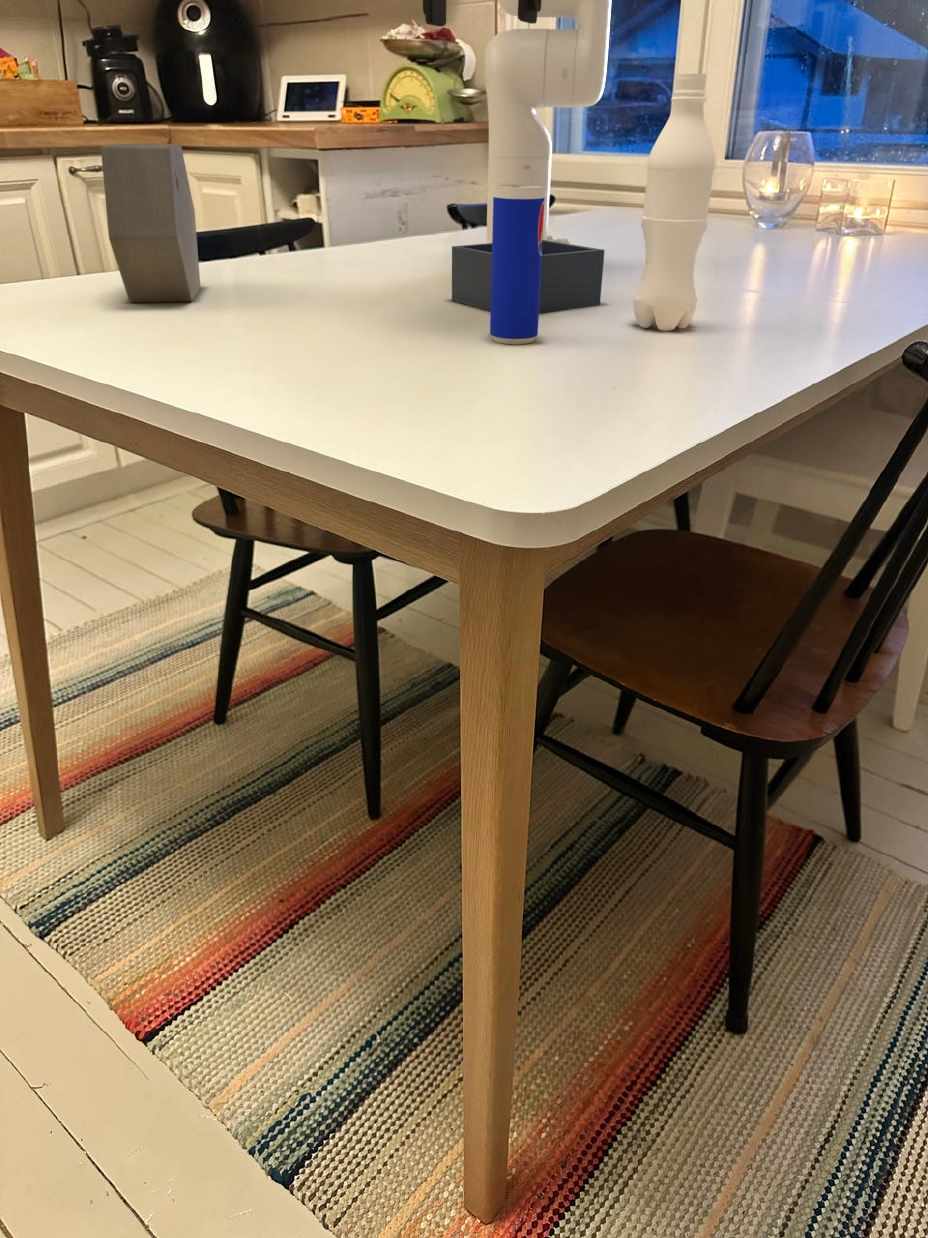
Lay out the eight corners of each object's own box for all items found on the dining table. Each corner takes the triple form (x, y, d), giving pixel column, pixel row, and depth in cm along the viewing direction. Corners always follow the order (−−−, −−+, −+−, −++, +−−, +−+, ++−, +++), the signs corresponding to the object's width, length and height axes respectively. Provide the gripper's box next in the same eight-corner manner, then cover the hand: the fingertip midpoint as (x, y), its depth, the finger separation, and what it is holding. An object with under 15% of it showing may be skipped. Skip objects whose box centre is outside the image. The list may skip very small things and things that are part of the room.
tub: (536, 290, 123) (539, 238, 120) (600, 304, 114) (604, 249, 111) (451, 300, 115) (451, 246, 112) (512, 316, 107) (514, 258, 103)
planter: (145, 244, 124) (105, 100, 105) (201, 243, 125) (172, 101, 107) (139, 334, 116) (95, 196, 98) (199, 333, 117) (167, 196, 99)
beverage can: (543, 344, 94) (551, 187, 87) (496, 346, 93) (500, 187, 86) (529, 333, 99) (536, 183, 91) (484, 335, 98) (488, 184, 90)
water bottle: (687, 320, 106) (719, 75, 94) (699, 333, 100) (735, 73, 87) (626, 319, 106) (651, 74, 94) (635, 332, 100) (662, 72, 88)
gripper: (594, -213, 77) (578, 24, 85) (417, -190, 83) (419, 29, 91) (564, -243, 71) (551, 16, 79) (376, -215, 77) (382, 22, 85)
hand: (480, 23), depth 85 cm, fingers open, 9 cm apart
